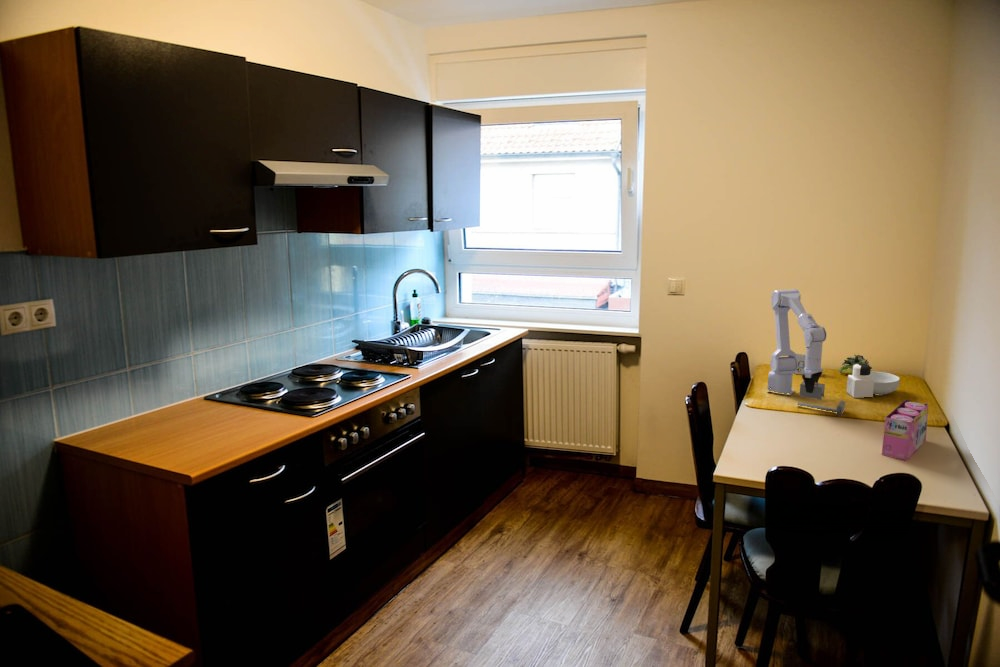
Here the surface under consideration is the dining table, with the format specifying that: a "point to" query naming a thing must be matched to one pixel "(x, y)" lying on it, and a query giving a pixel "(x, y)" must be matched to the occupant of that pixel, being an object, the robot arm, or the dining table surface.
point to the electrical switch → (800, 364)
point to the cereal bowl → (884, 382)
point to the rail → (839, 408)
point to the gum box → (905, 429)
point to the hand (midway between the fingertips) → (811, 390)
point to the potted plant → (853, 363)
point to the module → (817, 391)
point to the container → (860, 382)
